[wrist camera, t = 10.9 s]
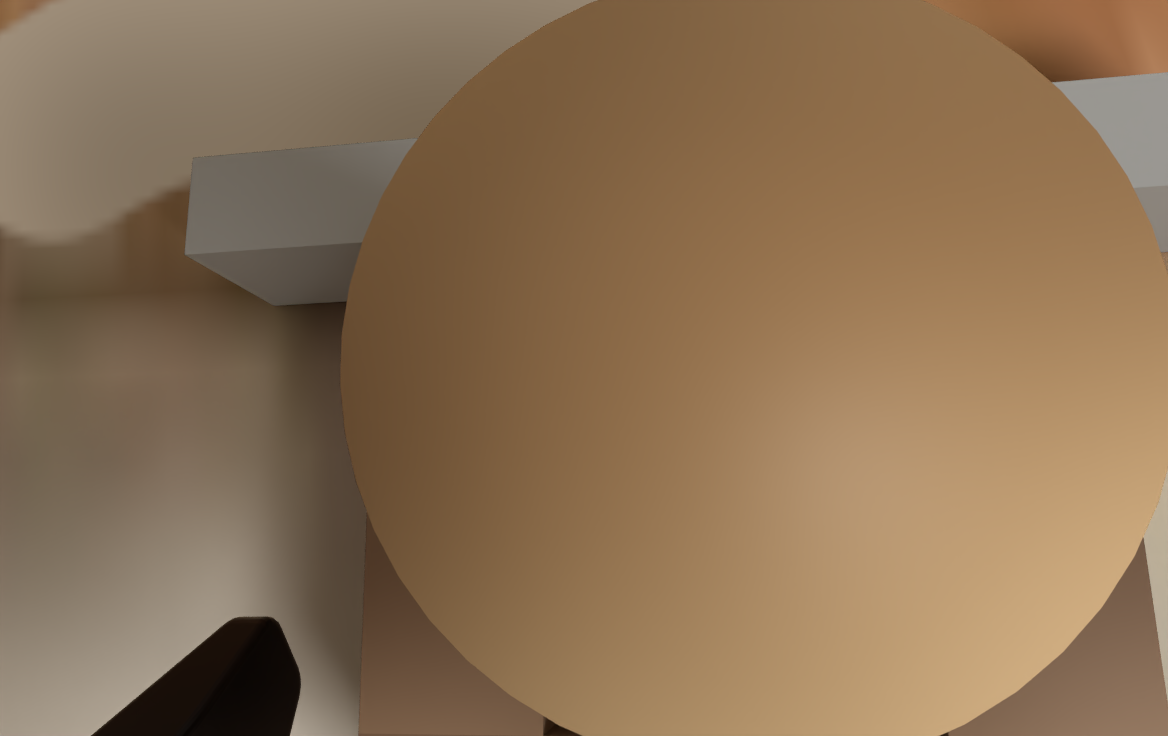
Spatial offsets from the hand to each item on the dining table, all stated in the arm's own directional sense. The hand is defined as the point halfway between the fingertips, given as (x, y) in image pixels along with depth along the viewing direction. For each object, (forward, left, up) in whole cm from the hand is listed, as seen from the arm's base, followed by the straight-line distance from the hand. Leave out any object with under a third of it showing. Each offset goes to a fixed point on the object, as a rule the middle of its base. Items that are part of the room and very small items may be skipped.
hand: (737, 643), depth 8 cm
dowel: (+1, -2, -8) cm, 9 cm away
